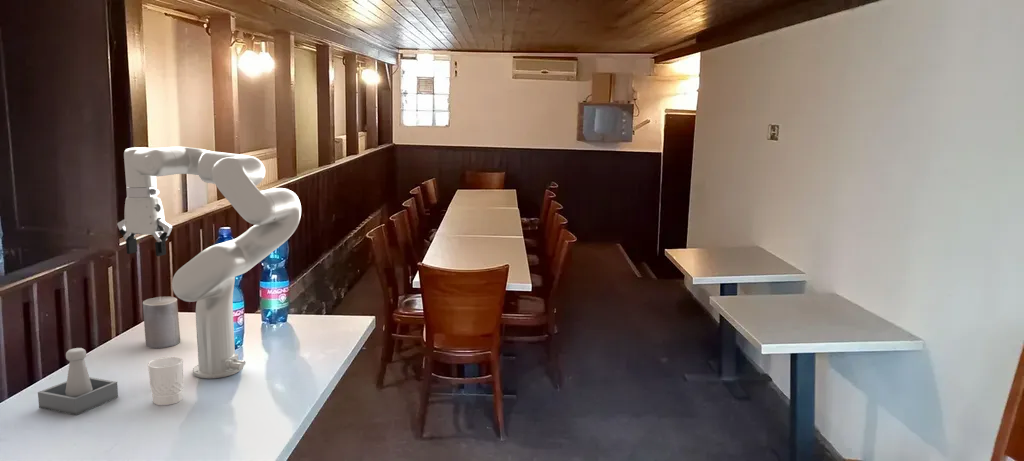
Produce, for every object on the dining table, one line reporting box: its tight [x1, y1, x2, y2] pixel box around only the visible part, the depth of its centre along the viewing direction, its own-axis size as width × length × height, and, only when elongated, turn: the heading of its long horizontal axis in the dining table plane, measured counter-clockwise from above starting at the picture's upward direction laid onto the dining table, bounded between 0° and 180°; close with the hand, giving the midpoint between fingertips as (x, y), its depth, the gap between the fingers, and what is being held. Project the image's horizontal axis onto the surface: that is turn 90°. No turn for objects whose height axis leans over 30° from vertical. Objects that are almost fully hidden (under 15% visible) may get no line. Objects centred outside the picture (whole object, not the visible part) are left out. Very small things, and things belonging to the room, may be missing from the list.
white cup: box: [147, 356, 184, 406], centre depth 185 cm, size 8×8×10 cm
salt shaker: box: [65, 347, 93, 398], centre depth 182 cm, size 6×6×13 cm
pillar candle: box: [142, 296, 181, 349], centre depth 227 cm, size 10×10×15 cm
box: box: [37, 376, 119, 416], centre depth 183 cm, size 12×12×4 cm
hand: (146, 254), depth 206 cm, fingers open, 9 cm apart
